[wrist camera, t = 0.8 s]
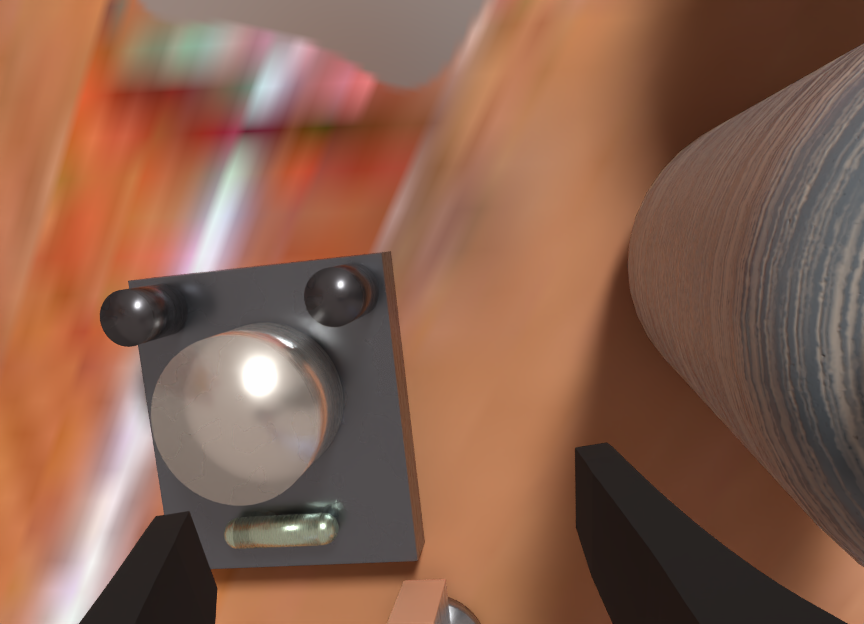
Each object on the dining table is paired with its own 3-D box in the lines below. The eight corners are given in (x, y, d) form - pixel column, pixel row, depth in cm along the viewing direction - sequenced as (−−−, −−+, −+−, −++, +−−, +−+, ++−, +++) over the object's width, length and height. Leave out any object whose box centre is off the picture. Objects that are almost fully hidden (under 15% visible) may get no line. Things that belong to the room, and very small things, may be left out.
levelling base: (424, 541, 35) (400, 606, 29) (192, 552, 37) (125, 614, 31) (390, 251, 33) (358, 256, 28) (151, 277, 35) (73, 288, 30)
